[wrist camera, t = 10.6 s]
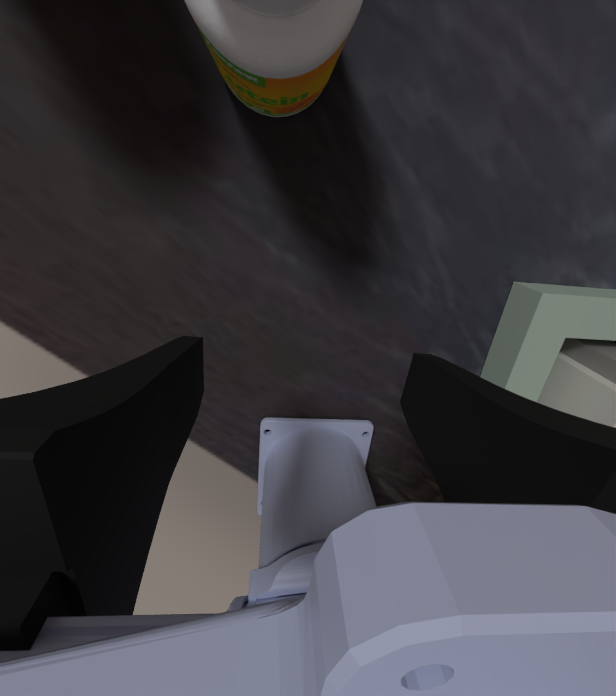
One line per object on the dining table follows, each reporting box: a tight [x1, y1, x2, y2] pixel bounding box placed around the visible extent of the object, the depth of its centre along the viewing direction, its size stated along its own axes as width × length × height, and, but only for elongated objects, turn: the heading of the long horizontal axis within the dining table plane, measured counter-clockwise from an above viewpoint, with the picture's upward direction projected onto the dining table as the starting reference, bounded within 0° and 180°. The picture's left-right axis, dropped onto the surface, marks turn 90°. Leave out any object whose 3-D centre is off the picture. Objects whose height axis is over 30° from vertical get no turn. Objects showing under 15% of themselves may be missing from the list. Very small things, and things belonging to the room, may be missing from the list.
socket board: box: [480, 282, 616, 402], centre depth 23 cm, size 13×12×2 cm
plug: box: [537, 338, 616, 428], centre depth 21 cm, size 5×4×6 cm
